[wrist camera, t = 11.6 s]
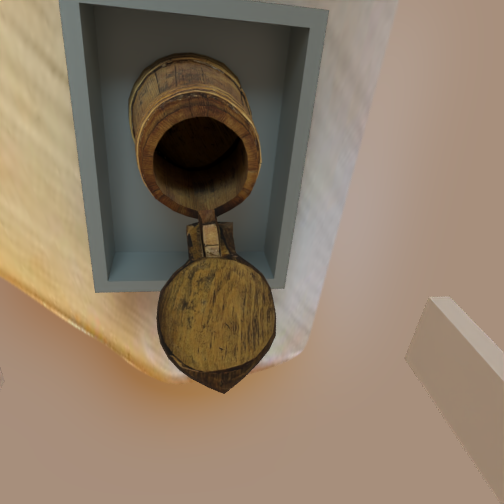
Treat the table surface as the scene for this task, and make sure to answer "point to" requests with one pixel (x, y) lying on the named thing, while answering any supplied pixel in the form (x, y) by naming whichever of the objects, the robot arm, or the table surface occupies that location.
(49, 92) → the table surface
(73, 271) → the table surface
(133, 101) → the wooden mug
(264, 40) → the bin
